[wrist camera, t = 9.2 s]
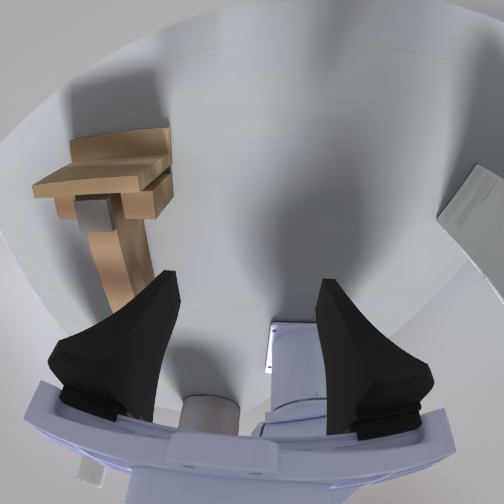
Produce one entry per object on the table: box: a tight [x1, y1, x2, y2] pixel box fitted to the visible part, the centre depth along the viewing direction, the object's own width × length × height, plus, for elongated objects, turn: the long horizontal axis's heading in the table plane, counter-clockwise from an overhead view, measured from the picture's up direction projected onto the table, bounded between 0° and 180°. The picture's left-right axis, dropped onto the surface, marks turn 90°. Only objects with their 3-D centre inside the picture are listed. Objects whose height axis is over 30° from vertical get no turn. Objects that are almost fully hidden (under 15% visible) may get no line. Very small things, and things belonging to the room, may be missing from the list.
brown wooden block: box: [73, 193, 155, 314], centre depth 22 cm, size 14×3×5 cm, turn 179°
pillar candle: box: [178, 395, 240, 436], centre depth 34 cm, size 10×10×15 cm
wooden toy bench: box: [32, 127, 173, 219], centre depth 17 cm, size 6×9×6 cm, turn 88°
